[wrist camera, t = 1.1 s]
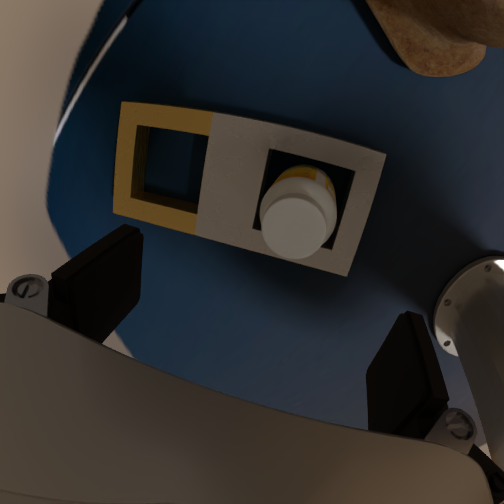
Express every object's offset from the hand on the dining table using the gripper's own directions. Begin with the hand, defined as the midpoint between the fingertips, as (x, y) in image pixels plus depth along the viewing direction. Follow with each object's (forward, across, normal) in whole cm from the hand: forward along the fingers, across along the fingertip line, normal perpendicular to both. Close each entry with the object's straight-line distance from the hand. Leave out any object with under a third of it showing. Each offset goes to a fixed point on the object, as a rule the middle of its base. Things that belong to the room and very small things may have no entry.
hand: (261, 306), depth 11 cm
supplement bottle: (+19, 0, +1) cm, 19 cm away
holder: (+19, +6, +1) cm, 20 cm away
